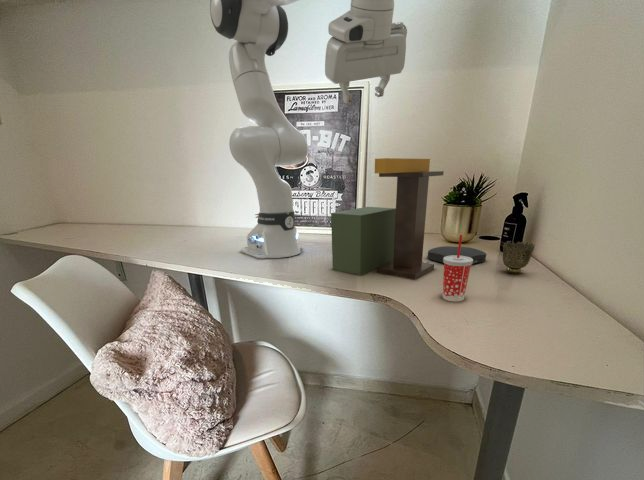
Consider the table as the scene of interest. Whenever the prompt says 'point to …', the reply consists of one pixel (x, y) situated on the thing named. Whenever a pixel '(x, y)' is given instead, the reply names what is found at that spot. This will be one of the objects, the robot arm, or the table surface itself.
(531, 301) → the table surface
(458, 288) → the beverage cup
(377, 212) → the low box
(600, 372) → the table surface
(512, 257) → the cup
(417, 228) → the shelf stand
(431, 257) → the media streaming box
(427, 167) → the wooden bar
